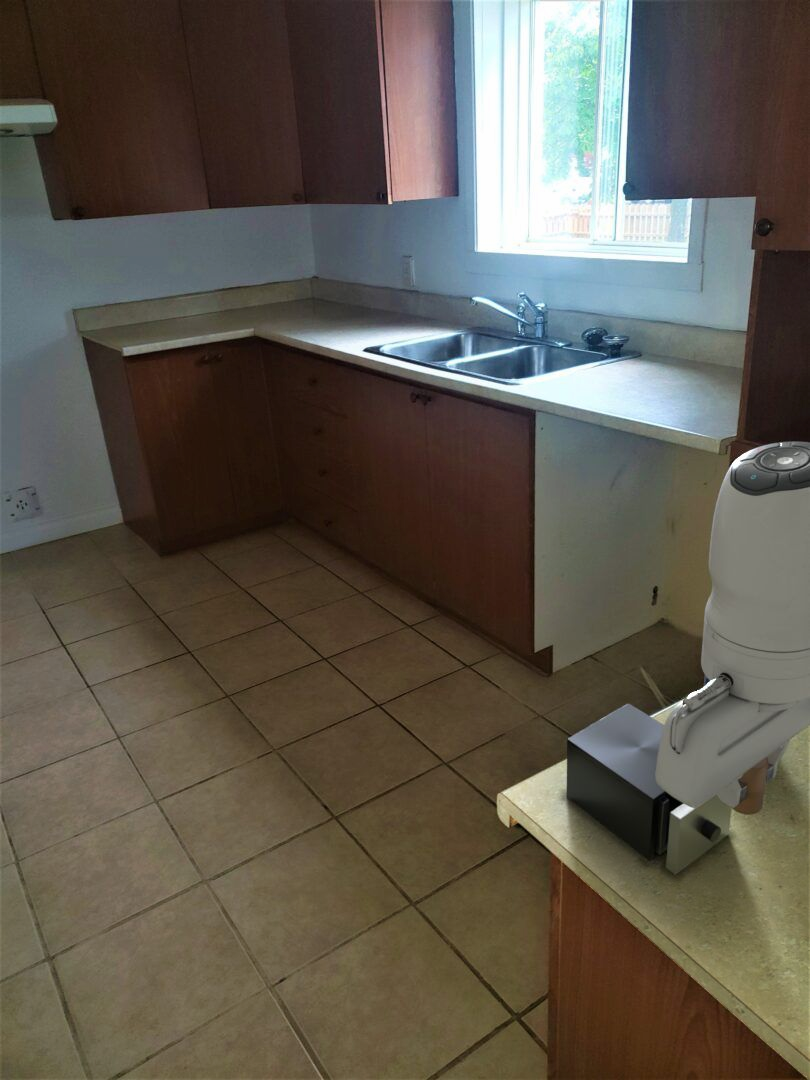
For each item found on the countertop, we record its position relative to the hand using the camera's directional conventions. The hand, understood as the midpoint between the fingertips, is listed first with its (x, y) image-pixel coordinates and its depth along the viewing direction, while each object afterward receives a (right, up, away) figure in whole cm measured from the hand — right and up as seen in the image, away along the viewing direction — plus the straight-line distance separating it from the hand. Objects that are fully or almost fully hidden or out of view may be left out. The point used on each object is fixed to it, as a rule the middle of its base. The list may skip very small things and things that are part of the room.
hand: (746, 788), depth 69 cm
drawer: (-2, -9, +15) cm, 18 cm away
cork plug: (0, -1, +1) cm, 2 cm away
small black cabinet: (-4, -8, +19) cm, 21 cm away
